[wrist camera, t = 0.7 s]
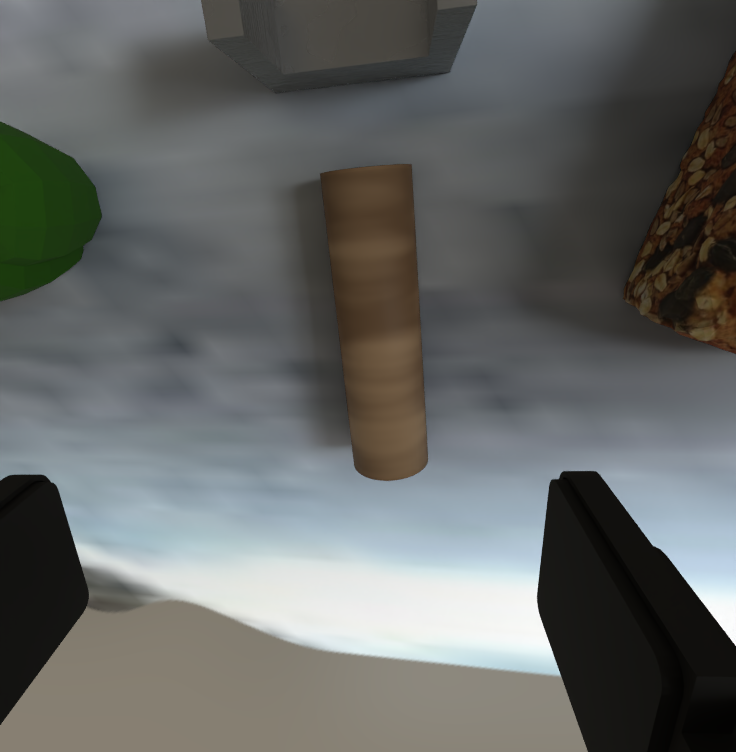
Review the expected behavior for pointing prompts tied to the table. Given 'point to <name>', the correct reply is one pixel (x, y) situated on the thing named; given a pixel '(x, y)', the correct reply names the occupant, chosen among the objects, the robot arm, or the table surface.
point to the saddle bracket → (337, 39)
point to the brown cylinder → (378, 316)
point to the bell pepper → (40, 212)
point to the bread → (696, 235)
